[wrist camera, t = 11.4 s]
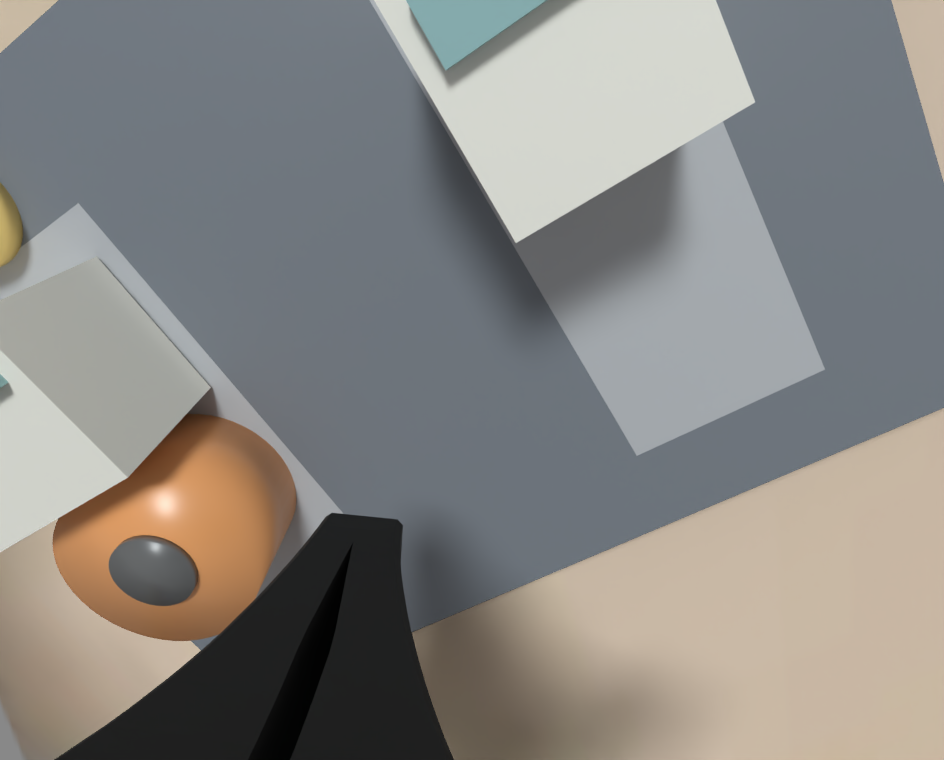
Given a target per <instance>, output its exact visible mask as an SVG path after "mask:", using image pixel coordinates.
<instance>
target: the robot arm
mask: <svg viewBox="0 0 944 760" xmlns="http://www.w3.org/2000/svg"><path fill="white" fill-rule="evenodd" d="M402 533H403V525H402V524H401V522H400V521H399V520H398V519H390V518H380V517H370V516H360V515H350V514H340V513H330V514H329V515H328V516H326V517H325V518H324V520H323V521H322V522H321V524H320V525H319V526H318V528H317V529H316V530H315V531H314V533H313V534H312V535H311V537H310V538H309V539H308V540H307V542H306V543H305V544H304V545H303V546H302V548H301V549H300V550H299V551H298V552H297V553H296V555H295V556H294V557H293V558H292V559H291V561H290V562H289V563H288V564H287V565H286V566H285V567H284V568H283V570H282V571H281V572H280V573H279V574H278V575H277V576H276V577H275V578H274V579H273V580H272V582H271V583H270V584H269V585H268V586H267V587H266V588H265V589H264V590H263V591H262V592H261V594H260V595H259V596H258V597H257V598H256V599H255V600H254V601H253V602H252V603H251V604H250V605H249V606H248V607H247V608H246V609H245V610H244V611H243V612H242V613H240V614H239V615H238V616H237V617H236V618H235V619H234V620H233V621H232V622H231V623H230V624H229V625H228V626H227V627H226V628H225V629H224V630H223V631H222V632H221V633H220V634H219V635H218V636H217V637H216V638H214V639H213V640H212V641H211V642H210V643H209V644H208V645H207V646H206V647H204V648H203V649H202V650H201V651H200V652H199V653H198V654H197V655H195V656H194V657H193V658H192V659H191V660H189V661H188V662H187V663H186V664H185V665H184V666H182V667H181V668H180V669H179V670H178V671H176V672H175V673H174V674H173V675H172V676H170V677H169V678H168V679H166V680H165V681H164V682H163V683H161V684H160V685H159V686H157V687H156V688H155V689H154V690H152V691H151V692H150V693H148V694H147V695H146V696H145V697H143V698H142V699H141V700H139V701H138V702H137V703H136V704H134V705H133V706H132V707H130V708H129V709H128V710H126V711H125V712H123V713H122V714H121V715H119V716H118V717H117V718H115V719H114V720H112V721H111V722H110V723H108V724H107V725H105V726H104V727H103V728H101V729H100V730H98V731H97V732H95V733H94V734H92V735H91V736H89V737H88V738H86V739H85V740H83V741H82V742H80V743H79V744H77V745H76V746H74V747H73V748H71V749H70V750H68V751H67V752H65V753H64V754H62V755H61V756H59V757H58V758H56V759H55V760H454V759H453V757H452V754H451V752H450V750H449V747H448V745H447V742H446V740H445V738H444V735H443V733H442V730H441V727H440V725H439V722H438V719H437V716H436V713H435V711H434V708H433V705H432V702H431V699H430V696H429V693H428V690H427V687H426V684H425V681H424V677H423V674H422V670H421V667H420V663H419V660H418V656H417V652H416V648H415V644H414V640H413V636H412V632H411V628H410V623H409V618H408V613H407V607H406V601H405V595H404V589H403V582H402V574H401V550H402Z"/></svg>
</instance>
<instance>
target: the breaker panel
mask: <svg viewBox="0 0 944 760" xmlns="http://www.w3.org/2000/svg"><path fill="white" fill-rule="evenodd" d="M716 2H717V5H718V7H719V10H720V12H721V15H722V17H723V20H724V23H725V25H726V28H727V30H728V33H729V36H730V38H731V41H732V43H733V46H734V48H735V51H736V54H737V56H738V59H739V61H740V64H741V66H742V69H743V72H744V74H745V77H746V79H747V82H748V85H749V87H750V90H751V92H752V95H753V97H754V100H755V103H753V104H752V105H750V106H748V107H746V108H745V109H743V110H741V111H740V112H738V113H736V114H735V115H733V116H731V117H729V118H728V119H726V120H724V121H723V122H721V123H719V124H718V125H716V126H714V127H712V128H711V129H709V130H707V131H706V132H704V133H702V134H701V135H699V136H697V137H695V138H694V139H692V140H690V141H689V142H687V143H685V144H684V145H682V146H680V147H678V148H677V149H675V150H673V151H672V152H670V153H668V154H667V155H665V156H663V157H661V158H660V159H658V160H656V161H655V162H653V163H651V164H650V165H648V166H646V167H644V168H643V169H641V170H639V171H638V172H636V173H634V174H633V175H631V176H629V177H627V178H626V179H624V180H622V181H621V182H619V183H617V184H616V185H614V186H612V187H610V188H609V189H607V190H605V191H604V192H602V193H600V194H599V195H597V196H595V197H593V198H592V199H590V200H588V201H587V202H585V203H583V204H582V205H580V206H578V207H576V208H575V209H573V210H571V211H570V212H568V213H566V214H565V215H563V216H561V217H559V218H558V219H556V220H554V221H553V222H551V223H549V224H548V225H546V226H544V227H542V228H541V229H539V230H537V231H536V232H534V233H532V234H531V235H529V236H527V237H525V238H524V239H522V240H520V241H519V242H517V243H516V242H515V241H514V239H513V237H512V236H511V234H510V232H509V230H508V229H507V227H506V225H505V224H504V222H503V220H502V219H501V217H500V215H499V213H498V212H497V210H496V208H495V207H494V205H493V203H492V201H491V200H490V198H489V196H488V195H487V193H486V191H485V189H484V188H483V186H482V184H481V183H480V181H479V179H478V177H477V176H476V174H475V172H474V171H473V169H472V167H471V165H470V164H469V162H468V160H467V159H466V157H465V155H464V153H463V152H462V150H461V148H460V147H459V145H458V143H457V142H456V140H455V138H454V136H453V135H452V133H451V131H450V130H449V128H448V126H447V124H446V123H445V121H444V119H443V118H442V116H441V114H440V112H439V111H438V109H437V107H436V106H435V104H434V102H433V100H432V99H431V97H430V95H429V94H428V92H427V90H426V88H425V87H424V85H423V83H422V82H421V80H420V78H419V76H418V75H417V73H416V71H415V70H414V68H413V66H412V64H411V63H410V61H409V59H408V58H407V56H406V54H405V53H404V51H403V49H402V47H401V46H400V44H399V42H398V41H397V39H396V37H395V35H394V34H393V32H392V30H391V29H390V27H389V25H388V23H387V22H386V20H385V18H384V17H383V15H382V13H381V11H380V10H379V8H378V6H377V5H376V3H375V1H374V0H58V1H57V2H56V3H55V4H54V5H53V6H52V7H51V8H50V9H49V10H47V11H46V12H45V13H44V14H43V15H42V16H41V17H40V18H39V19H37V20H36V21H35V22H34V23H33V24H32V25H31V26H30V27H29V28H28V29H26V30H25V31H24V32H23V33H22V34H21V35H20V36H19V37H18V38H16V39H15V40H14V41H13V42H12V43H11V44H10V45H9V46H8V47H7V48H5V49H4V50H3V51H2V52H1V53H0V300H2V299H4V298H6V297H8V296H10V295H13V294H15V293H17V292H19V291H21V290H24V289H26V288H28V287H30V286H32V285H35V284H37V283H39V282H41V281H43V280H46V279H48V278H50V277H52V276H54V275H57V274H59V273H61V272H63V271H65V270H68V269H70V268H72V267H74V266H76V265H79V264H81V263H83V262H85V261H87V260H90V259H92V258H94V257H96V256H97V258H98V259H99V260H100V261H101V262H102V263H103V264H104V266H105V267H106V268H107V269H108V270H109V271H110V272H111V274H112V275H113V276H114V277H115V278H116V279H117V280H118V282H119V283H120V284H121V285H122V286H123V287H124V288H125V290H126V291H127V292H128V293H129V294H130V295H131V297H132V298H133V299H134V300H135V301H136V302H137V303H138V305H139V306H140V307H141V308H142V309H143V310H144V311H145V313H146V314H147V315H148V316H149V317H150V318H151V319H152V321H153V322H154V323H155V324H156V325H157V326H158V327H159V329H160V330H161V331H162V332H163V333H164V334H165V336H166V337H167V338H168V339H169V340H170V341H171V342H172V344H173V345H174V346H175V347H176V348H177V349H178V350H179V352H180V353H181V354H182V355H183V356H184V357H185V358H186V360H187V361H188V362H189V363H190V364H191V365H192V366H193V368H194V369H195V370H196V371H197V372H198V373H199V375H200V376H201V377H202V378H203V379H204V380H205V381H206V383H207V384H208V385H209V386H210V387H211V388H210V389H209V390H208V391H207V392H206V393H205V394H204V395H203V397H202V398H201V399H200V400H199V401H198V402H197V403H196V404H195V405H194V406H193V407H192V409H191V410H190V411H189V412H188V413H187V414H204V415H212V416H216V417H221V418H224V419H227V420H230V421H233V422H235V423H238V424H240V425H242V426H244V427H246V428H248V429H249V430H251V431H253V432H255V433H256V434H257V435H259V436H260V437H262V438H263V439H264V440H265V441H267V442H268V443H269V444H270V445H271V446H272V447H273V448H274V449H275V450H276V451H277V453H278V454H279V455H280V456H281V457H282V459H283V460H284V462H285V463H286V465H287V467H288V469H289V471H290V473H291V475H292V478H293V481H294V484H295V489H296V509H295V513H294V516H293V519H292V521H291V523H290V525H289V528H288V530H287V532H286V534H285V536H284V538H283V540H282V543H281V545H280V547H279V549H278V551H277V553H276V555H275V558H274V560H273V562H272V564H271V566H270V568H269V570H268V573H267V575H266V577H265V579H264V581H263V583H262V585H261V588H260V590H259V592H258V594H257V596H256V598H257V597H258V596H259V595H260V594H261V592H262V591H263V590H264V589H265V588H266V587H267V586H268V585H269V584H270V583H271V582H272V580H273V579H274V578H275V577H276V576H277V575H278V574H279V573H280V572H281V571H282V570H283V568H284V567H285V566H286V565H287V564H288V563H289V562H290V561H291V559H292V558H293V557H294V556H295V555H296V553H297V552H298V551H299V550H300V549H301V548H302V546H303V545H304V544H305V543H306V542H307V540H308V539H309V538H310V537H311V535H312V534H313V533H314V531H315V530H316V529H317V528H318V526H319V525H320V524H321V522H322V521H323V520H324V518H325V517H326V516H328V515H329V514H330V513H340V514H350V515H360V516H370V517H380V518H390V519H398V520H399V521H400V522H401V524H402V525H403V533H402V550H401V574H402V582H403V589H404V595H405V601H406V607H407V613H408V618H409V623H410V628H411V632H414V631H416V630H418V629H421V628H423V627H425V626H428V625H430V624H433V623H435V622H437V621H440V620H442V619H444V618H447V617H449V616H452V615H454V614H456V613H459V612H461V611H463V610H466V609H468V608H470V607H473V606H475V605H478V604H480V603H482V602H485V601H487V600H489V599H492V598H494V597H497V596H499V595H501V594H504V593H506V592H508V591H511V590H513V589H516V588H518V587H520V586H523V585H525V584H527V583H530V582H532V581H534V580H537V579H539V578H542V577H544V576H546V575H549V574H551V573H553V572H556V571H558V570H561V569H563V568H565V567H568V566H570V565H572V564H575V563H577V562H580V561H582V560H584V559H587V558H589V557H591V556H594V555H596V554H598V553H601V552H603V551H606V550H608V549H610V548H613V547H615V546H617V545H620V544H622V543H625V542H627V541H629V540H632V539H634V538H636V537H639V536H641V535H643V534H646V533H648V532H651V531H653V530H655V529H658V528H660V527H662V526H665V525H667V524H670V523H672V522H674V521H677V520H679V519H681V518H684V517H686V516H689V515H691V514H693V513H696V512H698V511H700V510H703V509H705V508H707V507H710V506H712V505H715V504H717V503H719V502H722V501H724V500H726V499H729V498H731V497H734V496H736V495H738V494H741V493H743V492H745V491H748V490H750V489H753V488H755V487H757V486H760V485H762V484H764V483H767V482H769V481H771V480H774V479H776V478H779V477H781V476H783V475H786V474H788V473H790V472H793V471H795V470H798V469H800V468H802V467H805V466H807V465H809V464H812V463H814V462H816V461H819V460H821V459H824V458H826V457H828V456H831V455H833V454H835V453H838V452H840V451H843V450H845V449H847V448H850V447H852V446H854V445H857V444H859V443H862V442H864V441H866V440H869V439H871V438H873V437H876V436H878V435H880V434H883V433H885V432H888V431H890V430H892V429H895V428H897V427H899V426H902V425H904V424H907V423H909V422H911V421H914V420H916V419H918V418H921V417H923V416H926V415H928V414H930V413H933V412H935V411H937V410H940V409H942V408H944V183H943V179H942V176H941V172H940V169H939V165H938V162H937V158H936V155H935V151H934V148H933V144H932V141H931V137H930V134H929V130H928V127H927V123H926V120H925V116H924V113H923V109H922V106H921V103H920V99H919V96H918V92H917V89H916V85H915V82H914V78H913V75H912V71H911V68H910V64H909V61H908V57H907V54H906V50H905V47H904V43H903V40H902V36H901V33H900V29H899V26H898V22H897V19H896V15H895V12H894V9H893V5H892V2H891V0H716ZM58 519H59V518H58ZM256 598H255V599H256ZM218 635H219V634H218ZM218 635H215V636H212V637H209V638H204V639H199V640H190V641H192V642H193V643H194V644H195V645H196V646H197V647H198V648H199V649H200V650H202V649H203V648H204V647H206V646H207V645H208V644H209V643H210V642H211V641H212V640H213V639H214V638H216V637H217V636H218Z"/></svg>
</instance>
